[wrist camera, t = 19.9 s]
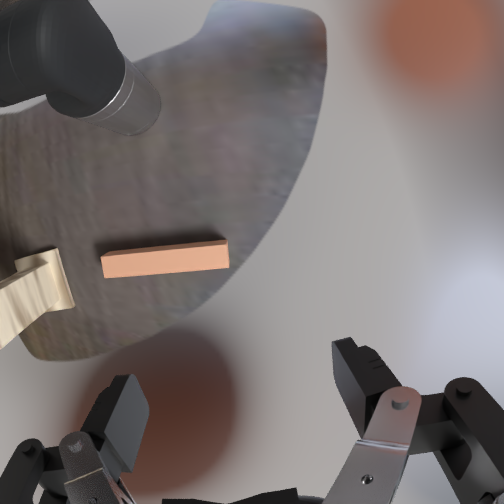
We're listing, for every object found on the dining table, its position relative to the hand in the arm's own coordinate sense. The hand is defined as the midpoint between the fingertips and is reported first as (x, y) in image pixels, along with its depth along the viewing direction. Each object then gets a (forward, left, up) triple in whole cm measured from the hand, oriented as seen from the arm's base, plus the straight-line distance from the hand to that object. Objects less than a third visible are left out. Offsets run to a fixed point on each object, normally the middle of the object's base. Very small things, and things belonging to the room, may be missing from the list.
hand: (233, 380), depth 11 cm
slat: (0, -12, -38) cm, 40 cm away
